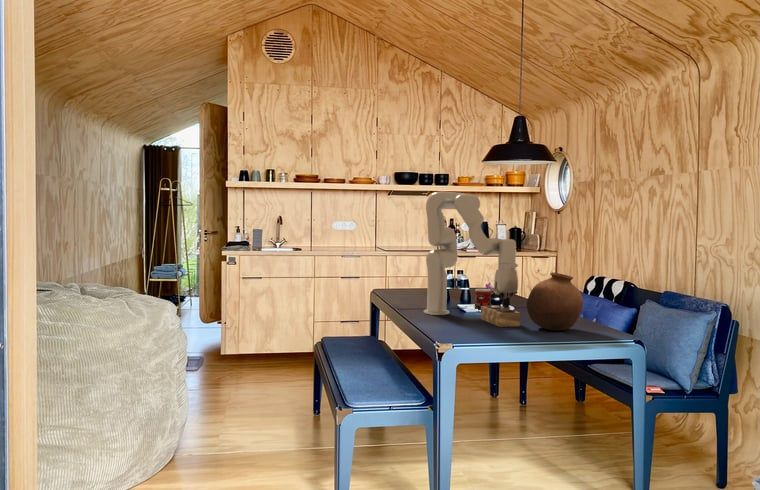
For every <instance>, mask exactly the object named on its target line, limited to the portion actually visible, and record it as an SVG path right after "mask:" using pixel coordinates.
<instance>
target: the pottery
mask: <svg viewBox="0 0 760 490" xmlns="http://www.w3.org/2000/svg"><path fill="white" fill-rule="evenodd" d="M550 276H551V277H550V278H547V279H543V280H542V281H540V282H538V283H536V284H535V285H534V286H533V287H532V289H531V290H530V293H529V294H528V297H527V300H526V311H527V313H528V316H529V318H530V320H531V322H533V323H534V324H535V325H537V326H538V327H541V328H543V329H545V330H548V331H554V332H555V331H558V332H559V331H564V330H568V329H570V328H572V327H573V326H574V325H575V324H576V322H577V321H578V319H579V318H580V315H581V314H582V311H583V308H584V298H583V295H582V292H581V291H580V290H579V289H578V288H577V287H576V286H575V285H574V284H573V283H572V282H571V281H572V280H573V279H574V276H571V275H567V274H564V273H559V272H553V271H551V272H550Z"/></svg>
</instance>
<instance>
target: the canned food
mask: <svg viewBox="0 0 760 490" xmlns="http://www.w3.org/2000/svg"><path fill="white" fill-rule="evenodd" d="M491 303H492V290H491V289H490V288H475V290H474V310H475V309H478V310H481V306H490V305H492V304H491Z"/></svg>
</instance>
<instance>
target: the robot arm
mask: <svg viewBox="0 0 760 490" xmlns="http://www.w3.org/2000/svg"><path fill="white" fill-rule="evenodd" d="M480 207H481V202H480V199H479V197H478V196H477V195H475V194H469V193H463V192H455V191H436V192H433V193H431V194H430V195H429V197H428V198H427V199H426V203H425V212H426V220H427V221H426V222H427V224H426V225H427V239H428V243H429V245H431V246H432V247H440V249H439V248H437V249H432V250H430V251H429V252H428V253H427V255H426V258H425V259H426V260H425V261H426V268H427V289H426V290H427V291H426V293H427V294H426V296H427V297H426V309H424V310H423V313H424V314H425V315H432V316H434V315H435V316H446V315H449V314H450V310H448V309H447V300H448V299H447V297H448V296H447V295H448V294H447V293H448V290H447V289H448V274H447V271H446V269H447V268H448V269H449V268H453V267H454V266H455V265H456V263H457V261H458V245H457V244H458V243H457V242H458V241H457V235H456V232H455V230H454V229H453V228H451V227H448V226H446V224H445V221H446V219H445V216H444V213H443V212H442V210H456V211H457V213H458V214H459V215H460V217H461V219H462V220H463V221H464V223H465V224H466V226H467V228H468V236H469V240H470V242H471V243H472V245H473V246H474V247H475V249H476V250H477V252H478V253H480V254H481V255H483V256H494V255H498V258H497V259H498V260H497V261H498V263H497V265H498V267H497V269H496V270H495V275H494V281H493V282H494V283H493V290H494V294H495V295H496V296H497V295H498V296H499V297H500V298H501V300H502V301H501V305H502V306H503V307H505V308H509V307H510V305H511V303H510V302H511V298H512V297H513V295H517V294H518V289H519V280H518V271H517V268H518V266H519V265H518V263H517V262H516V259H517V258H516V252H517V251H516V250H517V242H516V240H515V239H512V238H510V239H509V238H507V239H502V238H498V237H492V238H491V237H490V238H488V237H487V235H486V234H485V233H484V231H483V230H482V224H483V222H484V220H485V217H484V215H483V214H482V213H481V211H480Z"/></svg>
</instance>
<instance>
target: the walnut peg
mask: <svg viewBox="0 0 760 490" xmlns="http://www.w3.org/2000/svg"><path fill="white" fill-rule="evenodd" d="M510 309H511V307H510V306H509V308H505V307H503V305H502V307H501V311H510Z"/></svg>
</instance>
